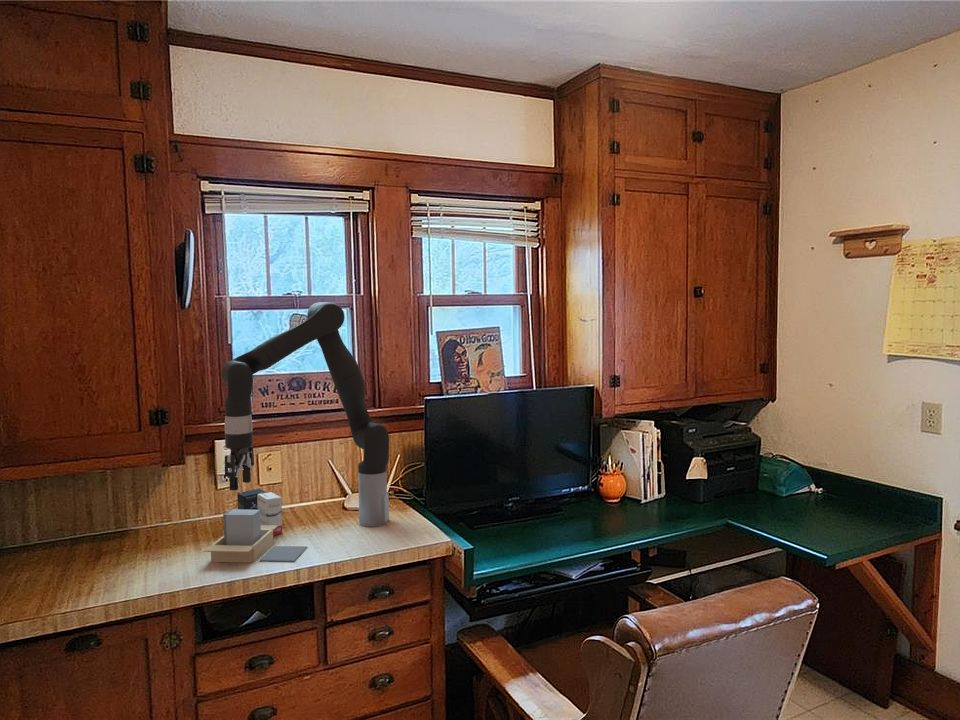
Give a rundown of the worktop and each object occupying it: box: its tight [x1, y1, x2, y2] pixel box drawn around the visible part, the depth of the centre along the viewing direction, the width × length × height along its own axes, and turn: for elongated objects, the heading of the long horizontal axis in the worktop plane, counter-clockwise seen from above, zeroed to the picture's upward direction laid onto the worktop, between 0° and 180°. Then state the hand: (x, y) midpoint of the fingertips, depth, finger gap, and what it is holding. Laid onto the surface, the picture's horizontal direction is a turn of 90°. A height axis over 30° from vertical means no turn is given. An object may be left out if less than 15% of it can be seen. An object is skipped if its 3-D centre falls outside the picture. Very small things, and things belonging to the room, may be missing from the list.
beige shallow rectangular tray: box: [203, 525, 278, 563], centre depth 192 cm, size 13×22×4 cm, turn 176°
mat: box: [259, 545, 308, 563], centre depth 190 cm, size 10×11×1 cm
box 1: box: [236, 488, 268, 510], centre depth 218 cm, size 8×6×11 cm
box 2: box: [222, 508, 261, 546], centre depth 191 cm, size 9×5×12 cm, turn 86°
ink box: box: [257, 492, 283, 536], centre depth 209 cm, size 8×5×12 cm, turn 39°
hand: (240, 486), depth 190 cm, fingers open, 8 cm apart
